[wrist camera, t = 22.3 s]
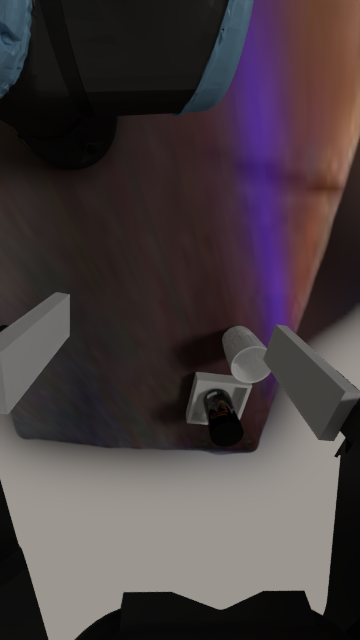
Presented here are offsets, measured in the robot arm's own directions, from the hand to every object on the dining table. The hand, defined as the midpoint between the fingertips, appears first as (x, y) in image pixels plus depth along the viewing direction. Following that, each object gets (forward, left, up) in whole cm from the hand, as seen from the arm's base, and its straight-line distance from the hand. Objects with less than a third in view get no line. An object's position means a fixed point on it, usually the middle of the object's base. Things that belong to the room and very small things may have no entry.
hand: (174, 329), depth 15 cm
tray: (+17, -31, -32) cm, 47 cm away
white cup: (+18, -15, -32) cm, 40 cm away
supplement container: (+17, -31, -31) cm, 47 cm away
